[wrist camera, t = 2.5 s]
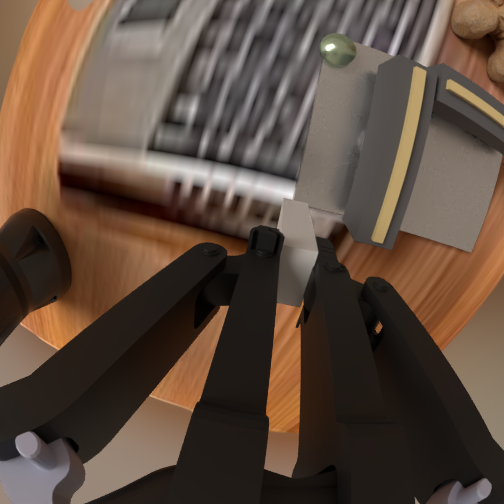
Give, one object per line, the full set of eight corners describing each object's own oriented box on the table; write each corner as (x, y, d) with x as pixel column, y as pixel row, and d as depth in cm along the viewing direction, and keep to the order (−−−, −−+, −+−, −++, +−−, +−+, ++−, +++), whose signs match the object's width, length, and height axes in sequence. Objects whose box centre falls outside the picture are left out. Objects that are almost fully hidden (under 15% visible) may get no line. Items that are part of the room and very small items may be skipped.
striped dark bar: (340, 215, 23) (355, 243, 18) (374, 67, 17) (401, 52, 12) (371, 223, 23) (393, 253, 18) (407, 80, 17) (441, 72, 11)
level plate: (287, 198, 25) (287, 205, 23) (320, 36, 17) (323, 29, 15) (466, 248, 24) (475, 256, 22) (501, 123, 17) (513, 126, 15)
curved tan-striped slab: (504, 158, 17) (539, 171, 12) (407, 102, 18) (442, 100, 12) (509, 132, 16) (544, 141, 11) (412, 72, 16) (446, 62, 11)
